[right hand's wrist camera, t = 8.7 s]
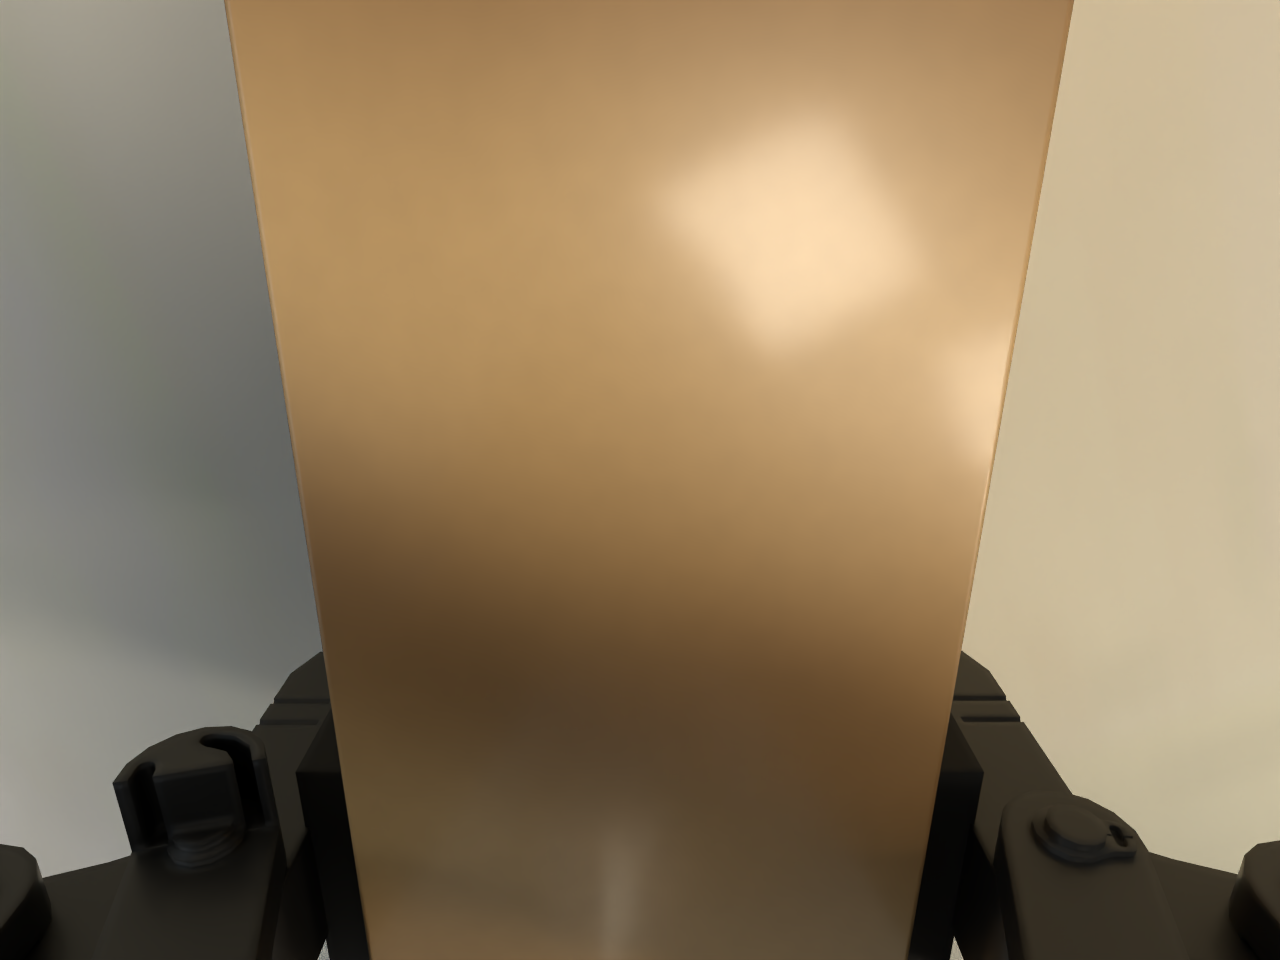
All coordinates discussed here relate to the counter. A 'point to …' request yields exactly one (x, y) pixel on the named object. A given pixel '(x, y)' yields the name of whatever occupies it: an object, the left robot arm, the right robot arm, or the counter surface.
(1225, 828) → the counter surface
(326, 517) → the bar
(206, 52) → the counter surface
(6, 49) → the counter surface
